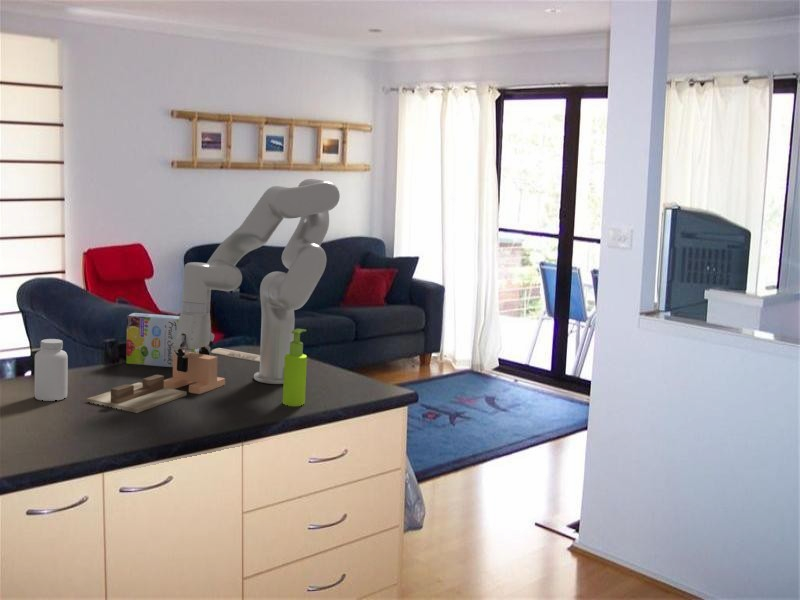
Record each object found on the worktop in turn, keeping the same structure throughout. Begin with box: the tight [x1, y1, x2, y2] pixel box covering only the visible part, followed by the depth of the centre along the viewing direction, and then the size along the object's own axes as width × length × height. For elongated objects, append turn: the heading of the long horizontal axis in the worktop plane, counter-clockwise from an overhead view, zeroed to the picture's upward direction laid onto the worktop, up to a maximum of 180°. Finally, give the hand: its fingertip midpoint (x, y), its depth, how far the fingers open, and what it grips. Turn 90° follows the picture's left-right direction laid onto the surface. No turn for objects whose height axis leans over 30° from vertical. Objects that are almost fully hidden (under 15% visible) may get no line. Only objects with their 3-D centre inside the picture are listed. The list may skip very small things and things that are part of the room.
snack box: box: [125, 312, 200, 368], centre depth 277 cm, size 21×6×15 cm, turn 84°
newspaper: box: [210, 347, 260, 363], centre depth 294 cm, size 24×7×2 cm, turn 65°
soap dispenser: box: [282, 328, 308, 407], centre depth 245 cm, size 6×7×20 cm
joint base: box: [86, 374, 188, 414], centre depth 241 cm, size 16×20×4 cm
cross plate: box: [164, 351, 226, 395], centre depth 256 cm, size 12×12×9 cm
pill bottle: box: [34, 338, 69, 402], centre depth 236 cm, size 8×8×15 cm
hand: (192, 368), depth 255 cm, fingers open, 9 cm apart
